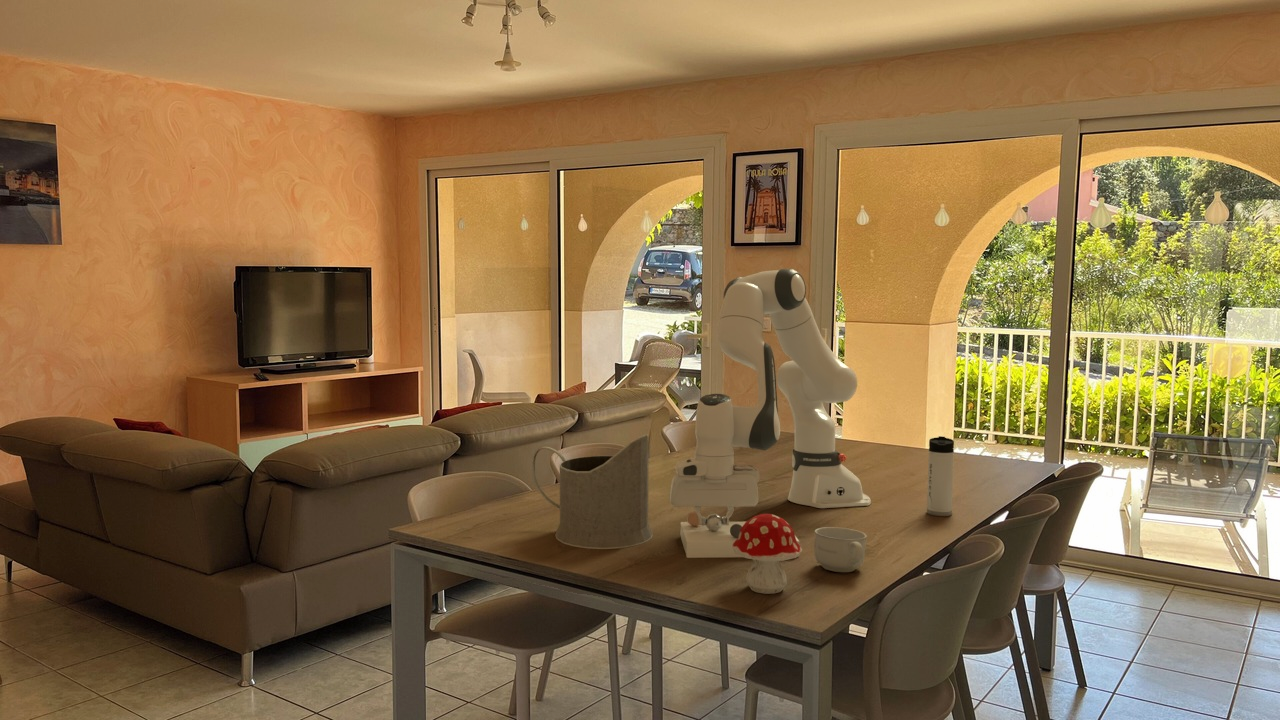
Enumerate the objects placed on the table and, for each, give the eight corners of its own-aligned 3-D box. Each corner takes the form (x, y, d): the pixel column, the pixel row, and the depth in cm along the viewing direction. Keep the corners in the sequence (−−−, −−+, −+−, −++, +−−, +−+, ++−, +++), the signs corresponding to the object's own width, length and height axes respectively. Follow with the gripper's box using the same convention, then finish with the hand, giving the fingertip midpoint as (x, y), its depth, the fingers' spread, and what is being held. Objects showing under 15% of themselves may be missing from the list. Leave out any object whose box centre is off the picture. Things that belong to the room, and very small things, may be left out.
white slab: (784, 535, 221) (784, 521, 220) (799, 556, 204) (799, 541, 203) (680, 536, 220) (680, 522, 219) (686, 557, 203) (686, 542, 202)
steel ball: (721, 528, 214) (721, 511, 213) (723, 533, 210) (723, 516, 209) (704, 528, 214) (704, 511, 213) (706, 533, 210) (706, 516, 209)
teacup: (808, 561, 200) (808, 525, 200) (856, 560, 201) (857, 524, 201) (826, 582, 187) (827, 543, 186) (878, 580, 188) (879, 542, 187)
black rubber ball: (742, 535, 208) (742, 522, 208) (744, 539, 205) (744, 526, 205) (729, 535, 208) (729, 522, 208) (730, 539, 205) (730, 526, 205)
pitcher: (625, 554, 206) (625, 443, 204) (507, 536, 219) (506, 433, 217) (667, 529, 226) (668, 428, 224) (557, 514, 240) (556, 420, 238)
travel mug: (951, 511, 244) (954, 436, 243) (951, 517, 238) (954, 441, 236) (927, 509, 246) (929, 435, 245) (926, 515, 240) (928, 439, 238)
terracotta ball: (701, 523, 218) (701, 509, 218) (702, 527, 214) (702, 513, 214) (686, 523, 218) (686, 509, 217) (687, 527, 214) (687, 513, 214)
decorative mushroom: (776, 606, 173) (777, 528, 171) (717, 589, 182) (717, 515, 181) (815, 588, 183) (816, 514, 182) (757, 573, 192) (758, 502, 191)
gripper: (757, 462, 214) (756, 520, 215) (669, 463, 213) (669, 521, 214) (761, 468, 208) (760, 528, 209) (671, 468, 207) (671, 528, 208)
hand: (713, 524), depth 212 cm, fingers closed on steel ball, 4 cm apart
